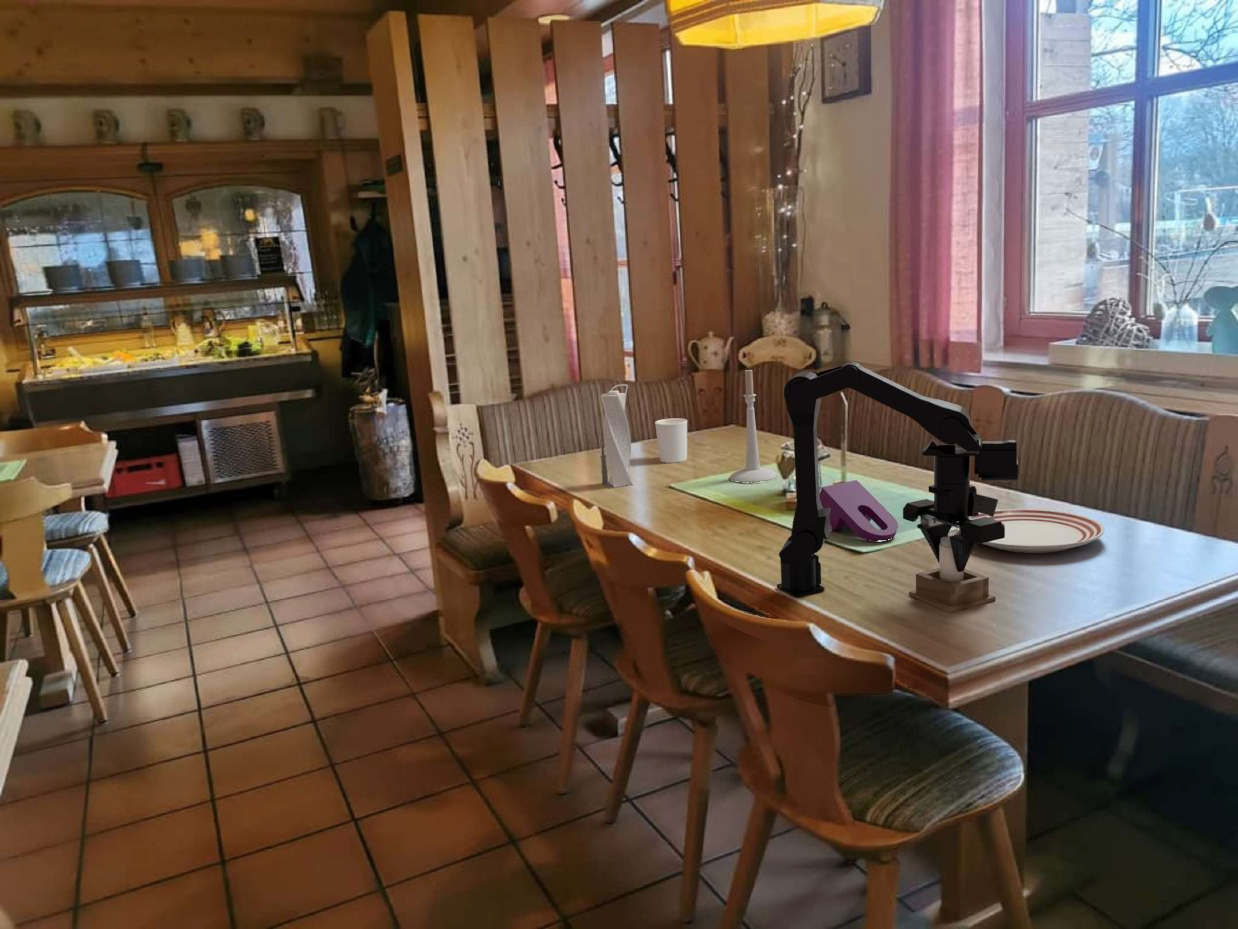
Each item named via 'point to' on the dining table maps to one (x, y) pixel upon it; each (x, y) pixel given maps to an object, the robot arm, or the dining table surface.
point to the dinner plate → (1043, 530)
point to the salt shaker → (948, 563)
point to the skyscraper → (616, 440)
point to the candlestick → (751, 443)
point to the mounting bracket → (857, 511)
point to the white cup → (672, 439)
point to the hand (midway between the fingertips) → (951, 568)
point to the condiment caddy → (952, 590)
